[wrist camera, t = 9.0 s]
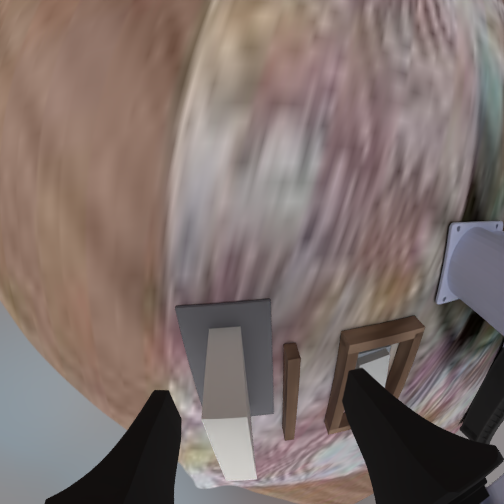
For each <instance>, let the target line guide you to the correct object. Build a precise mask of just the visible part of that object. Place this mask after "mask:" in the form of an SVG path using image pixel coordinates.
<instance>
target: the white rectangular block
mask: <svg viewBox="0 0 504 504" xmlns="http://www.w3.org/2000/svg"><path fill="white" fill-rule="evenodd" d="M202 422H203V424H204V427H205V430H206V432H207V435H208V438H209V440H210V443H211V445H212V448H213V450H214V453H215V455H216V458H217V460H218V462H219V465H220V467H221V469H222V472H223V474H224V476H225V478H226V481H240V480H255V479H257V475H256V466H255V456H254V446H253V436H252V426H251V415H250V404H249V396H248V388H247V379H246V371H245V362H244V353H243V344H242V335H241V326H239V327H227V328H212V329H209V335H208V345H207V356H206V367H205V379H204V392H203V405H202Z"/></svg>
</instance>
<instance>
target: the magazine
mask: <svg viewBox="0 0 504 504" xmlns="http://www.w3.org/2000/svg"><path fill="white" fill-rule="evenodd" d="M503 420H504V347H502V349H501V351H500V353H499V354H498V356H497V358H496V360H495V361H494V363H493V364H492V366H491V368H490V369H489V371H488V373H487V375H486V377H485V379H484V381H483V383H482V385H481V387H480V388H479V390H478V392H477V394H476V396H475V398H474V400H473V402H472V404H471V406H470V409H469V411H468V413H467V415H466V418H465V420H464V422H463V424H462V426H461V427H460V431H462V433H464V434H465V435H466V436H467V437H468V438H469V439H470V440H472V441H476V442H480V443H485V444H490V441H491V439H492V437H493V435H494V434H495V432H496V430H497V429H498V427H499V426H500V424H501V423H502V422H503Z"/></svg>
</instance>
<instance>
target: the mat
mask: <svg viewBox="0 0 504 504" xmlns="http://www.w3.org/2000/svg"><path fill="white" fill-rule="evenodd" d="M175 310H176V314H177V318H178V323H179V327H180V331H181V335H182V339H183V343H184V347H185V350H186V354H187V358H188V361H189V365H190V368H191V372H192V375H193V379H194V382H195V385H196V389H197V392H198V395H199V398H200V402H201V405H203V392H204V379H205V367H206V356H207V345H208V335H209V329H212V328H227V327H239V326H241V335H242V344H243V353H244V362H245V371H246V379H247V388H248V396H249V404H250V415H251V416H258V415H267V414H274V409H273V363H272V329H271V301H270V299H263V300H252V301H241V302H229V303H216V304H201V305H185V306H176V307H175Z"/></svg>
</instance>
